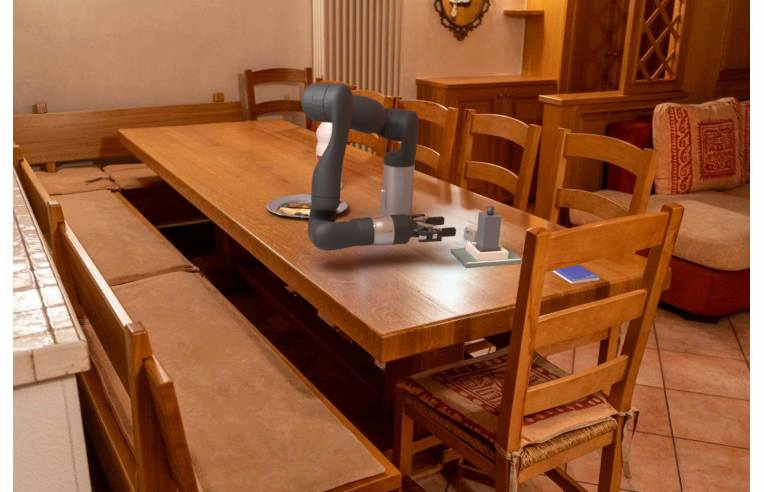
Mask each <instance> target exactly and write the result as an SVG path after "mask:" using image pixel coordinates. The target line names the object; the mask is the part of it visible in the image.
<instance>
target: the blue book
mask: <svg viewBox="0 0 764 492" xmlns="http://www.w3.org/2000/svg"><path fill="white" fill-rule="evenodd" d="M552 272H553V273H554V274H556V275H558V276H559V277H561V278H562V279H564V280H565V281H566V282H568V283H570V284H573V285H574V284H581V283H588V282H595V281H600V279H601V277H600V276H599V275H597V274H596V273H594V272H592V271H590V270H588V268H585V267H583V266H581V265H580V264H579V265H576V266H571V267H566V268H561V269H557V270H554V271H552Z"/></svg>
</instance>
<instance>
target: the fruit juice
mask: <svg viewBox="0 0 764 492" xmlns="http://www.w3.org/2000/svg"><path fill="white" fill-rule="evenodd" d="M331 134H332V123H327V122H320V124H319V126H318V127H317V129H316V135H315V136H316V140H317V143H316V146H315V165H316V164H317V163H318V161H319V159H320V158H321V156H322V154H323V153H324V151H325V149H326V147H327V145H328V143H329V141H330V138H331ZM343 185H344V165H343V166H342V174H341V189H343Z"/></svg>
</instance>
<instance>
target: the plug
mask: <svg viewBox="0 0 764 492" xmlns="http://www.w3.org/2000/svg"><path fill="white" fill-rule="evenodd" d="M477 224H478V228H477V239H476V249H477V250H478V251H480V252H494V251H498V246H499V243H500V235H501V225H502V216H501V215H500V214H498V213H497V212H496V211H495V206H493V205H487V206H486V211H478V219H477Z"/></svg>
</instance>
